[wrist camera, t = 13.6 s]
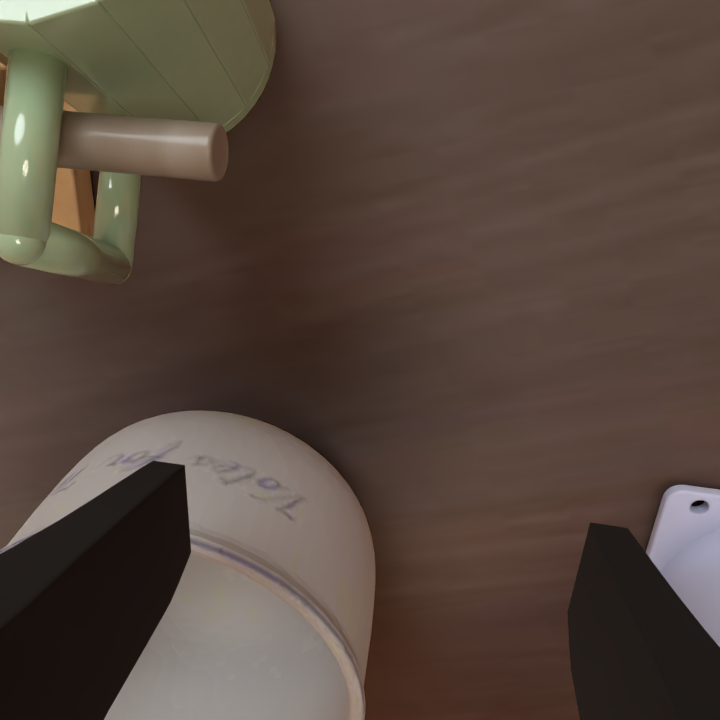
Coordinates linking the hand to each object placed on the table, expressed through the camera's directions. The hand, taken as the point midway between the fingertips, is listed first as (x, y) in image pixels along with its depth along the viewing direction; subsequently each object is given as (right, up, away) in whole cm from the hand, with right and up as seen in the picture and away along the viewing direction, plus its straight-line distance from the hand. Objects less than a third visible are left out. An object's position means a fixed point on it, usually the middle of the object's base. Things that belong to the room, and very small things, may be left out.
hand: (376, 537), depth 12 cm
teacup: (-6, -2, +13) cm, 14 cm away
